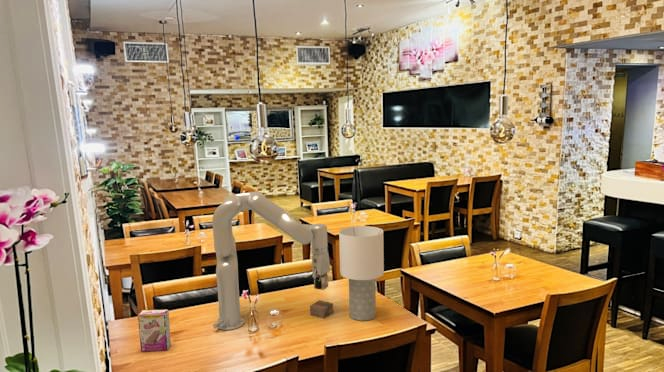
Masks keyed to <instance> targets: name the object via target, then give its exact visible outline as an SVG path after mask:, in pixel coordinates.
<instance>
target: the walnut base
mask: <svg viewBox="0 0 664 372" xmlns="http://www.w3.org/2000/svg"><path fill="white" fill-rule="evenodd" d="M309 313H310V314H309V315H310V316H313V317H315V316H316V317H315V318H318V319H322V318H323V319H322V320H325V319H326V318H327V317H329V316H331V315H332V314H333V313H334V303H333V302H329V301H325V300H320V299H319V300H318V301H316V302H314V303H312V304H310V305H309ZM330 314H331V315H330Z"/></svg>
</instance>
